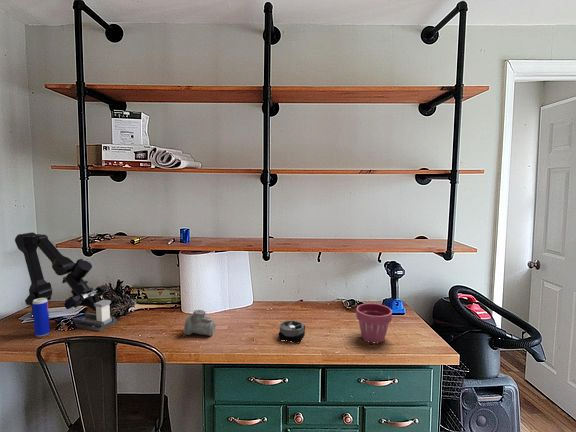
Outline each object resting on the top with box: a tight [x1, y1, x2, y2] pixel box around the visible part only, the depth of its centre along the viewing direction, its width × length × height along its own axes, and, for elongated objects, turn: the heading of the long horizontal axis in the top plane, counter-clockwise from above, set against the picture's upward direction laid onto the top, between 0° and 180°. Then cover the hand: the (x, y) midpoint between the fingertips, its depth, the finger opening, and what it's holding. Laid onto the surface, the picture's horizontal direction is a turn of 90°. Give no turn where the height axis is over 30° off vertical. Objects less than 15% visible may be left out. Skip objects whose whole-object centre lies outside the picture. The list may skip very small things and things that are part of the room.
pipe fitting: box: [183, 309, 216, 337], centre depth 147 cm, size 12×8×10 cm
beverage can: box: [32, 298, 51, 338], centre depth 144 cm, size 5×5×15 cm
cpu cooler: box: [278, 320, 306, 342], centre depth 145 cm, size 10×6×10 cm
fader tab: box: [94, 299, 112, 325], centre depth 153 cm, size 5×5×9 cm
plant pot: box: [355, 302, 393, 344], centre depth 144 cm, size 14×14×13 cm
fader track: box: [72, 312, 118, 333], centre depth 155 cm, size 16×10×3 cm, turn 73°
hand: (98, 311), depth 154 cm, fingers closed
